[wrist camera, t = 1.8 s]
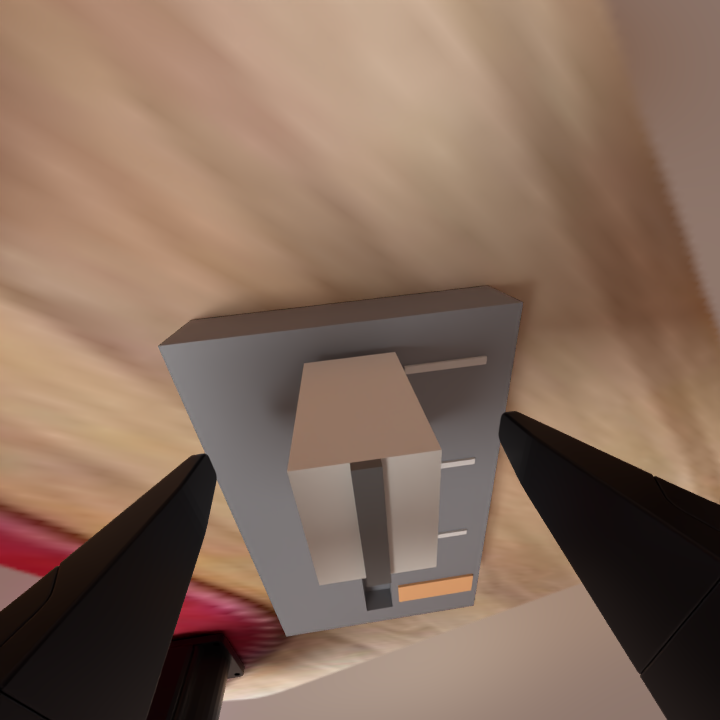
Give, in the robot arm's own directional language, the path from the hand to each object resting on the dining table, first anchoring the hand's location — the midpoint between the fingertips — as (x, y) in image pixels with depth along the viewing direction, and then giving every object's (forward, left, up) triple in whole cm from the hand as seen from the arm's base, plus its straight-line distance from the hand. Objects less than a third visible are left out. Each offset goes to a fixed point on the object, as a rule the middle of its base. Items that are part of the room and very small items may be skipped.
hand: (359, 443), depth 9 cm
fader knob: (0, 0, -3) cm, 3 cm away
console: (-7, 0, -5) cm, 8 cm away
